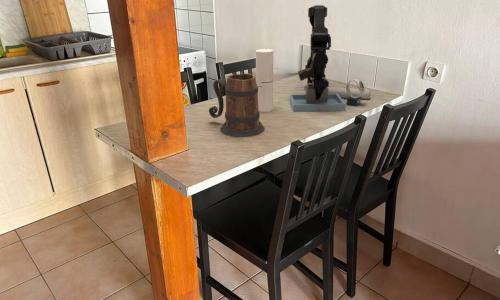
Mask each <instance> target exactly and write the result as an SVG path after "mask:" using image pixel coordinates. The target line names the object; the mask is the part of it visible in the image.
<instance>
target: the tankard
mask: <svg viewBox="0 0 500 300" xmlns="http://www.w3.org/2000/svg"><path fill="white" fill-rule="evenodd" d="M212 86H213V87H212V88H213V90H214V92H215V95H216V97H217V100H218V107H217V106H215V105H214V106H211V107H209V108H208V113H209V116H210V117H212V118H213V119H217V118H219V117H221V116H222V115H223V112H224V105H225V112H224V119H225V122H224V123H223V124H222V126H221V128H220V129H219V131H220V132H221V134H223V135H224V136H227V137H231V138H251V137H256V136H259V135H260V134H262V133H264V132H265V130H266V128H265V126H264V125H263V124H262V121H260V116H261V115H260V111H258V86H257V83H256V75H254V74H253V73H237V74H231V75H228V76H227V77H226V82H225V80H223V79H221V78H218V79H217V80H214V82H213V85H212ZM222 93H225V101H224V98H223V97H224V96H223V94H222ZM224 102H225V104H224ZM216 113H217V114H216Z"/></svg>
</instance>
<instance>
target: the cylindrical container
mask: <svg viewBox="0 0 500 300" xmlns="http://www.w3.org/2000/svg"><path fill="white" fill-rule="evenodd" d="M255 78H256V83H257V86H258V111H259V113H260V112H261V113H266V112H267V113H269V112H271V111H273V109H274V49H271V48H269V49H268V48H261V49H256V50H255Z"/></svg>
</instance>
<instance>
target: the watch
mask: <svg viewBox="0 0 500 300" xmlns="http://www.w3.org/2000/svg"><path fill="white" fill-rule="evenodd" d="M351 82H355V83H356V87H357V89H359V91H360V92H361V95H362V94H363V93H364V91H365V89H366V87H365V85H364V82H363V80H360V79H357V78H356V79H355V78H354V79H351V80H349V81H348V82H347V83H346V85H345V88H346V91H347V94H348V95H349V96H350V97H348V98H346V99H347V100H346V106H350V107H358V106H359V105H360V104H361V100H362V99H361V97H360V96H361V95H360V96H353V95H351V92H350V89H349V88H350V87H349V84H350V83H351Z"/></svg>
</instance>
